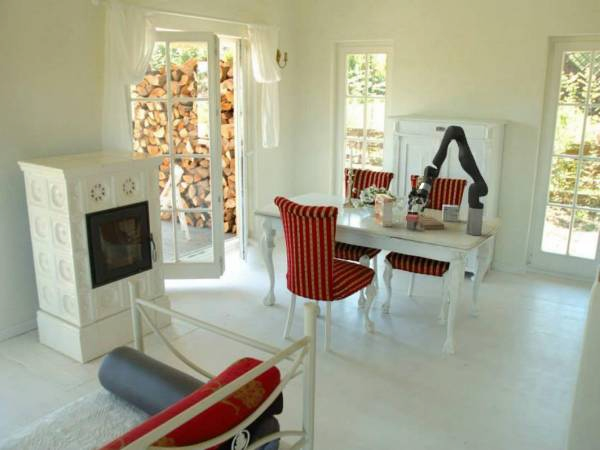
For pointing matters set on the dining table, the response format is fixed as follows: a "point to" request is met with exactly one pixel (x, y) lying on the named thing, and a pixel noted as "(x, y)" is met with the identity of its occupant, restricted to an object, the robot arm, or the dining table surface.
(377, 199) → the coffeecake box
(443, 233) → the dining table surface
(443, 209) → the light bulb box
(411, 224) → the grey tin
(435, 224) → the walnut board
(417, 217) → the red lid
